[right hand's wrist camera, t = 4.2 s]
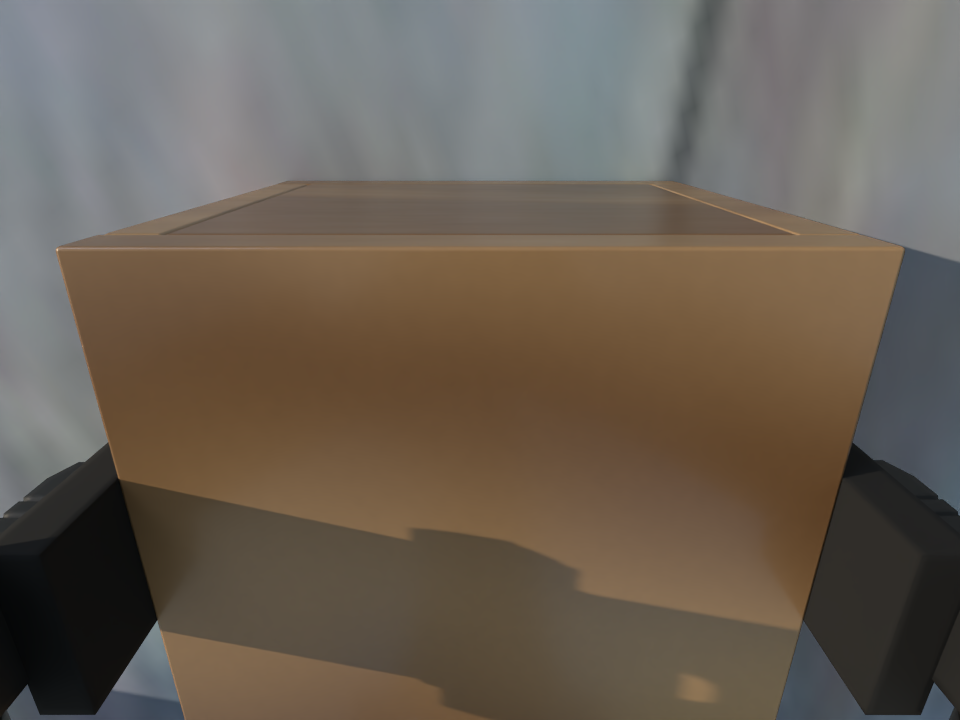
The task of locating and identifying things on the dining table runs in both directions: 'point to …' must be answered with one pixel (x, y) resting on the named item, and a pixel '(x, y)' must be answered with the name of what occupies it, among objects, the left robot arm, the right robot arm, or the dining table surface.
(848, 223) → the dining table surface
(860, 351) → the cabinet
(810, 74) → the dining table surface
